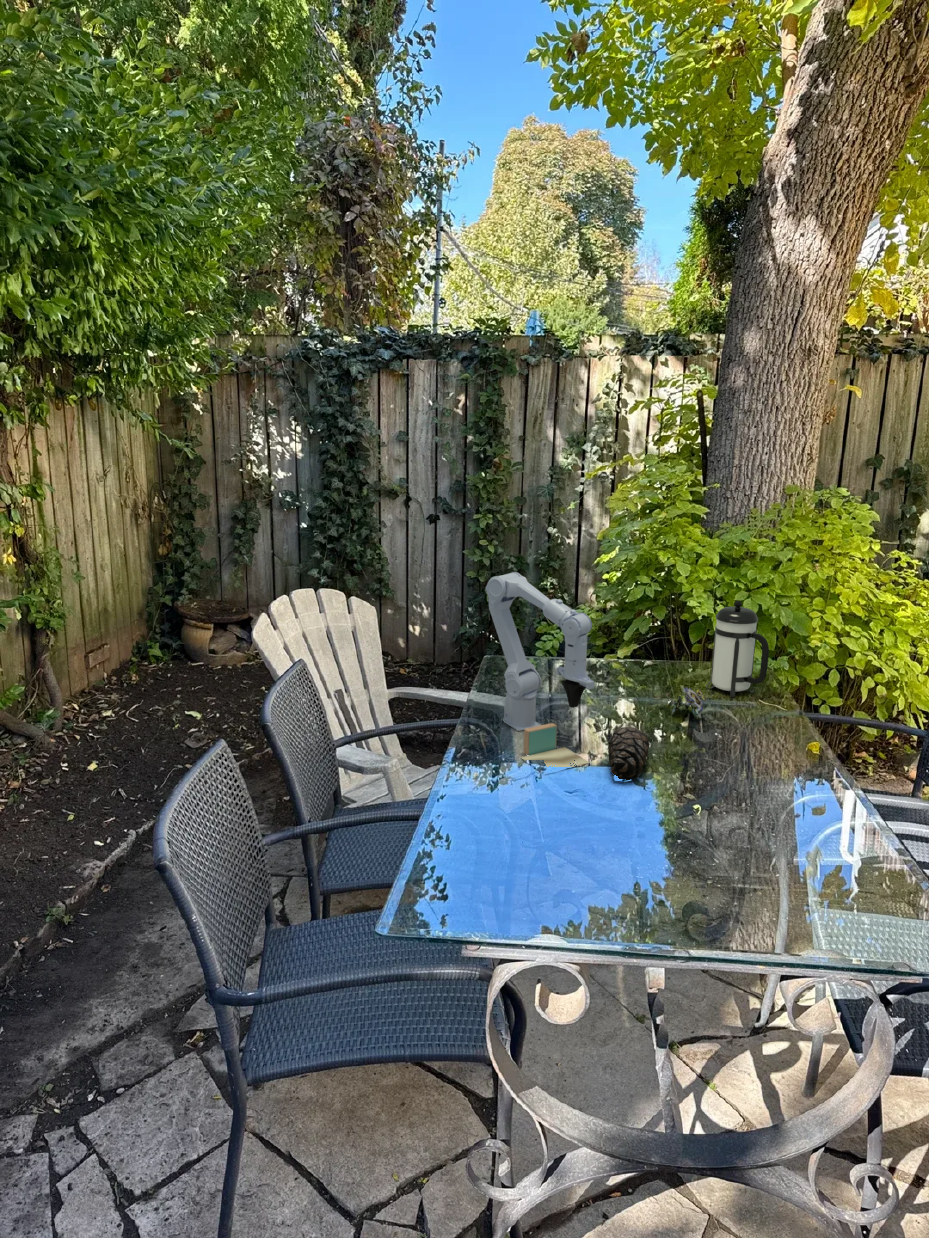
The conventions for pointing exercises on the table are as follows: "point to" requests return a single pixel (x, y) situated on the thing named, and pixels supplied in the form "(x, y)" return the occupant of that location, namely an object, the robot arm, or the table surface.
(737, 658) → the coffee press
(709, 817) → the table surface
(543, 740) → the block
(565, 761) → the board
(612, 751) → the pine cone
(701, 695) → the passion flower
